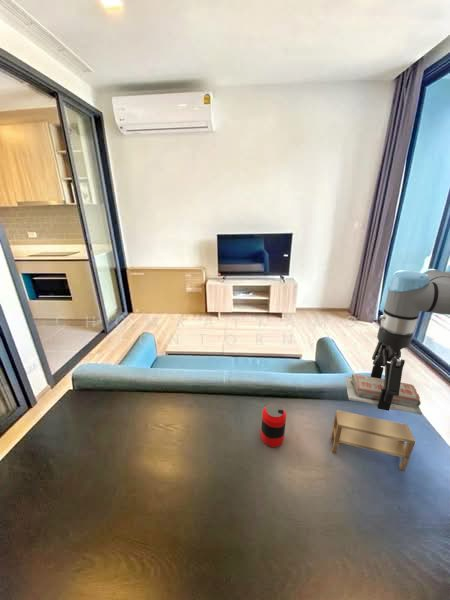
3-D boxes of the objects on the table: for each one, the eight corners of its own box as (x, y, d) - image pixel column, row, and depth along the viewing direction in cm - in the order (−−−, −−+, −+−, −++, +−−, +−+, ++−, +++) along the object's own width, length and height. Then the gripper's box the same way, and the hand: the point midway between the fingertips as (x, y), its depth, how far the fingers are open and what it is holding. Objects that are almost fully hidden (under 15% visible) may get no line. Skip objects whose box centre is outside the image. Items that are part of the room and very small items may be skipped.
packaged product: (413, 379, 74) (426, 402, 65) (409, 392, 76) (421, 416, 67) (347, 367, 80) (351, 387, 71) (344, 380, 81) (348, 401, 72)
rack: (398, 453, 79) (407, 424, 75) (404, 471, 74) (415, 441, 69) (330, 437, 85) (336, 409, 80) (332, 453, 79) (338, 424, 75)
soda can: (282, 450, 80) (285, 422, 76) (258, 443, 82) (260, 415, 78) (284, 431, 87) (287, 404, 82) (263, 426, 89) (265, 399, 85)
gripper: (370, 311, 78) (357, 371, 85) (392, 348, 57) (372, 421, 65) (398, 314, 75) (382, 375, 83) (431, 353, 55) (406, 429, 63)
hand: (378, 395), depth 74 cm, fingers closed on packaged product, 10 cm apart
